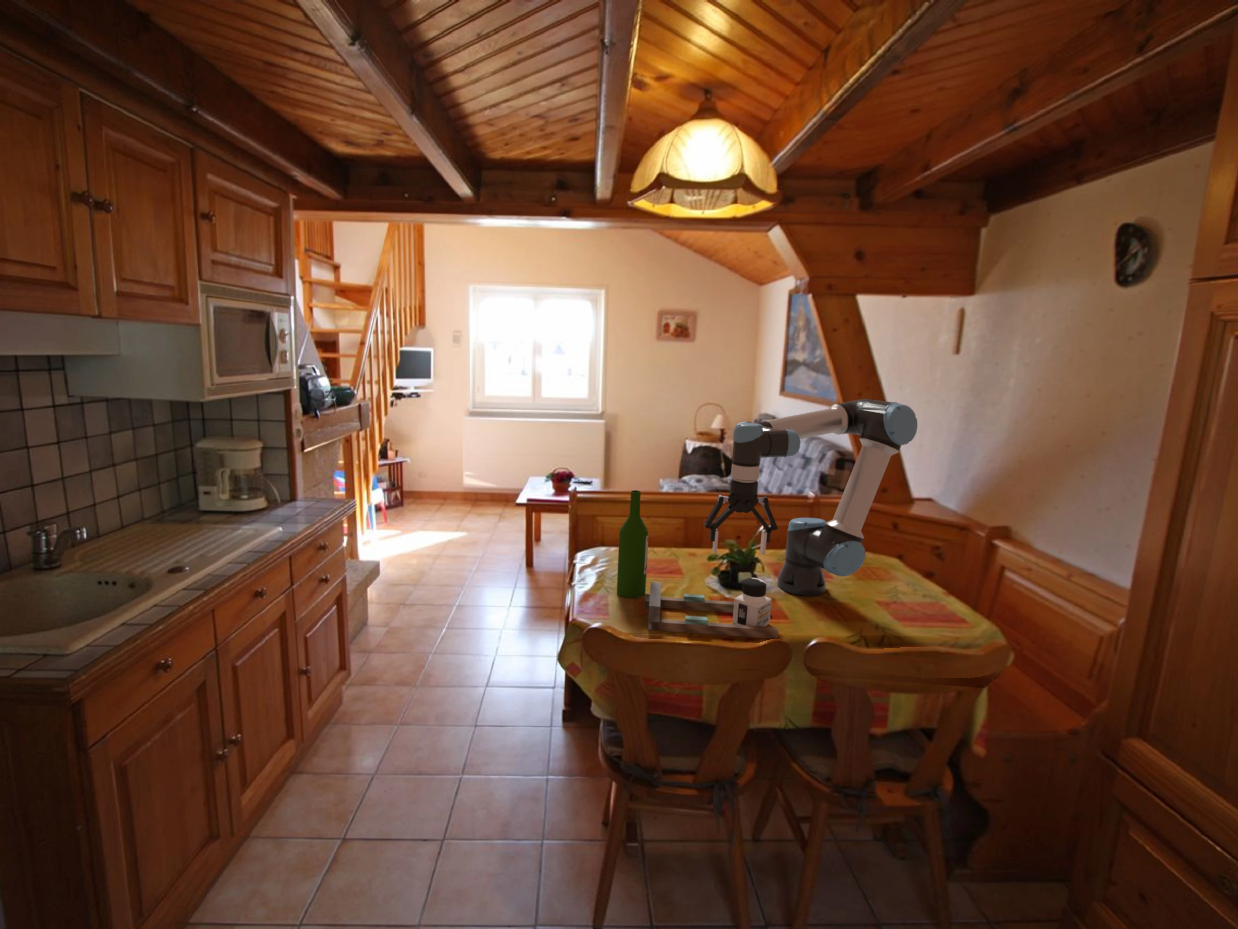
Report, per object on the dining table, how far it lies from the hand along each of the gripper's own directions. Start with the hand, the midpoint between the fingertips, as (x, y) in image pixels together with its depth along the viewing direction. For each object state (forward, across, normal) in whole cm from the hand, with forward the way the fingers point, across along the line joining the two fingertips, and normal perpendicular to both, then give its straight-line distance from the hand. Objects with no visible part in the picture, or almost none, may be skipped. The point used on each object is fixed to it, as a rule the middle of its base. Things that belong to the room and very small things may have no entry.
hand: (738, 552), depth 178 cm
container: (+20, -4, +3) cm, 21 cm away
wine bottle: (+20, +29, -16) cm, 39 cm away
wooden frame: (+20, +8, +2) cm, 21 cm away
